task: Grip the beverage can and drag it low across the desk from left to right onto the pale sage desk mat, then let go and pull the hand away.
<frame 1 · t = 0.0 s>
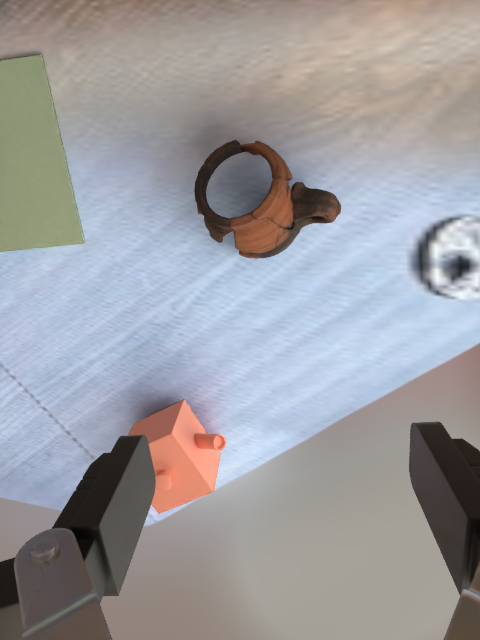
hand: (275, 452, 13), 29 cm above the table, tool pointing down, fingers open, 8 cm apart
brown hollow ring: (267, 203, 39), on the table
pink cube teapot: (184, 429, 48), on the table
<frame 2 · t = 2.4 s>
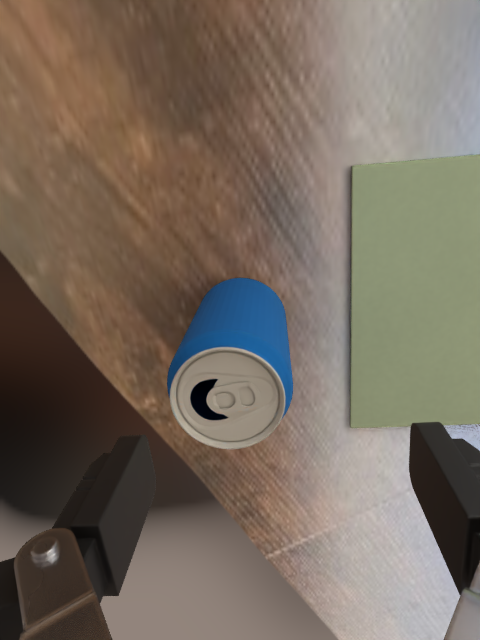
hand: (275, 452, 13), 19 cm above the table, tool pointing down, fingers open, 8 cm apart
desk mat: (464, 303, 30), on the table
beverage can: (242, 316, 32), on the table
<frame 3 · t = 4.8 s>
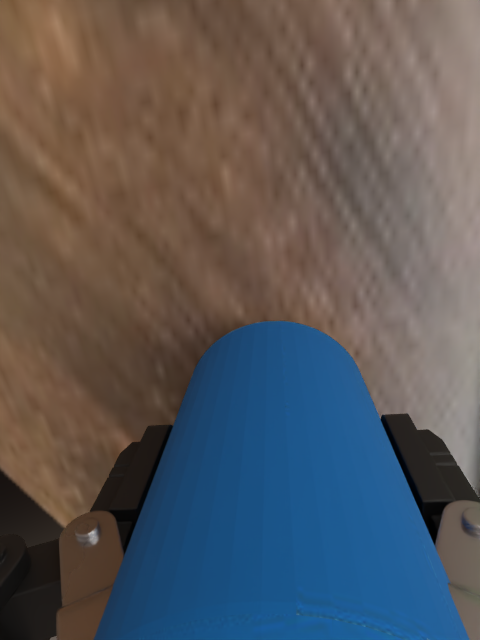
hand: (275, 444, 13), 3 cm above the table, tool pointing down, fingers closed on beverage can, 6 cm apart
beverage can: (275, 389, 16), on the table, touching gripper
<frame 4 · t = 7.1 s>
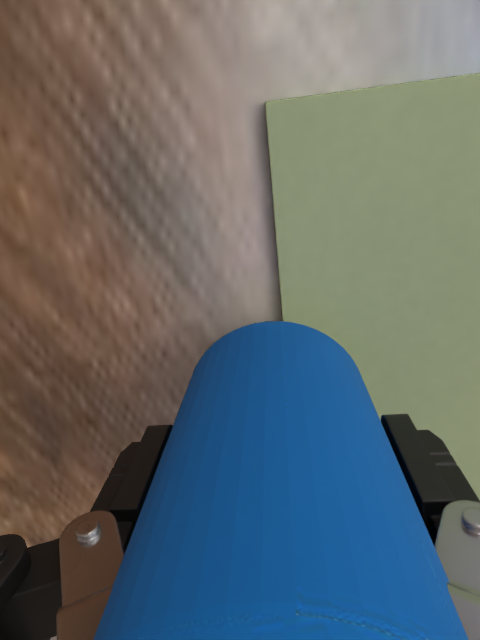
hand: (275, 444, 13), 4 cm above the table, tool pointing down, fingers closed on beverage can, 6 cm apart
beverage can: (275, 389, 16), point 1 cm above the table, touching gripper
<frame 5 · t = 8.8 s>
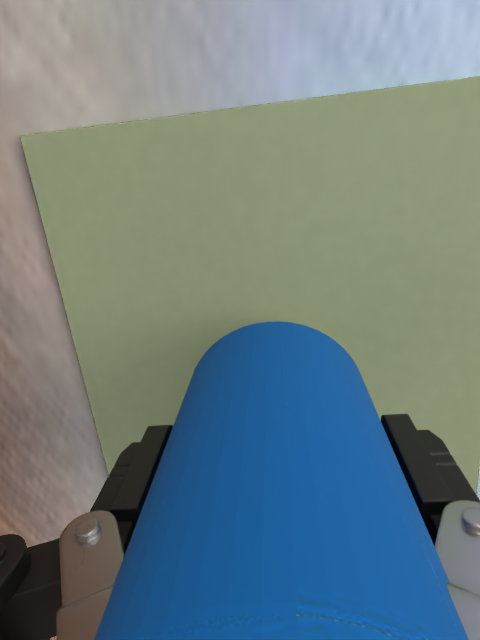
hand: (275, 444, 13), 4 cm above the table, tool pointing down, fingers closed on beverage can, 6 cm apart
desk mat: (278, 379, 17), on the table
beverage can: (275, 389, 16), point 1 cm above the table, touching gripper
when the fingers open (4 cm above the table, at t = 9.7 s): beverage can stays where it is, resting on desk mat.
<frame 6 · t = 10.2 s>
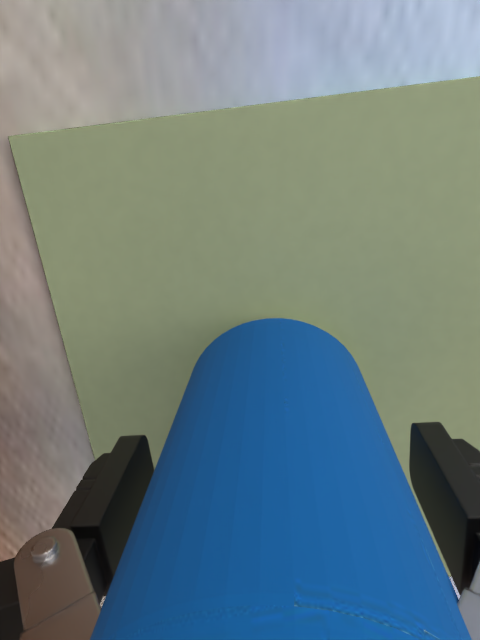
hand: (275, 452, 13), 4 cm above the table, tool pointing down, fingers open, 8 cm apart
desk mat: (275, 387, 17), on the table
beverage can: (275, 386, 16), resting on desk mat
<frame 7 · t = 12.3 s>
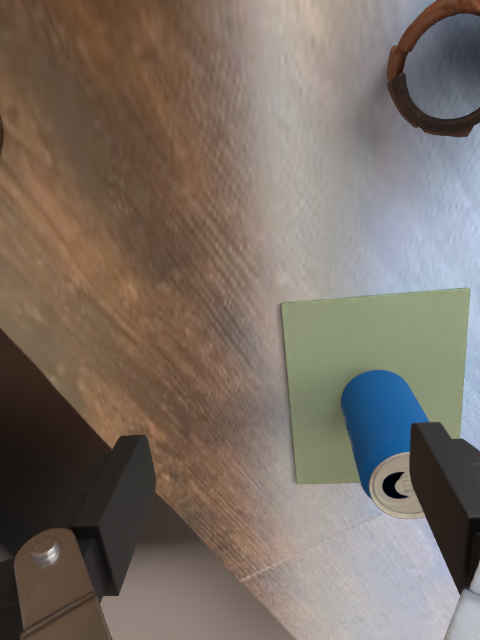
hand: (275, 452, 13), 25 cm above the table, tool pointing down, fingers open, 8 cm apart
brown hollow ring: (455, 48, 30), on the table
desk mat: (373, 395, 40), on the table
beverage can: (373, 395, 40), resting on desk mat
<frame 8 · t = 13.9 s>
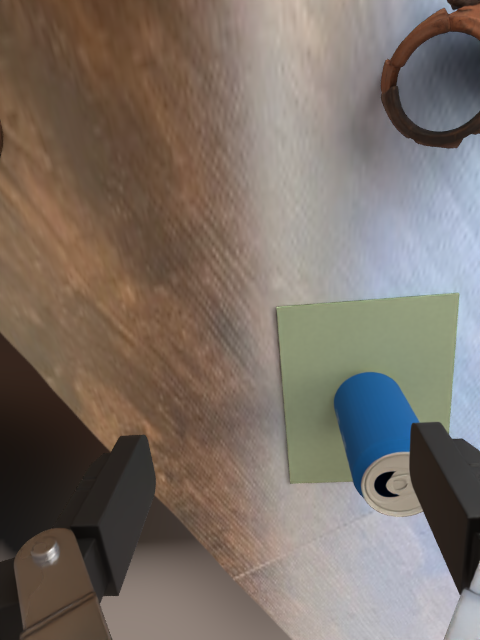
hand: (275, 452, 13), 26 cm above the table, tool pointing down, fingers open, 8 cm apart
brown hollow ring: (446, 62, 31), on the table
desk mat: (365, 396, 41), on the table
beverage can: (365, 396, 41), resting on desk mat
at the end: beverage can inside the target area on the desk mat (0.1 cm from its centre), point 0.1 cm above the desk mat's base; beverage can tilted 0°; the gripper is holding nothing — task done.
